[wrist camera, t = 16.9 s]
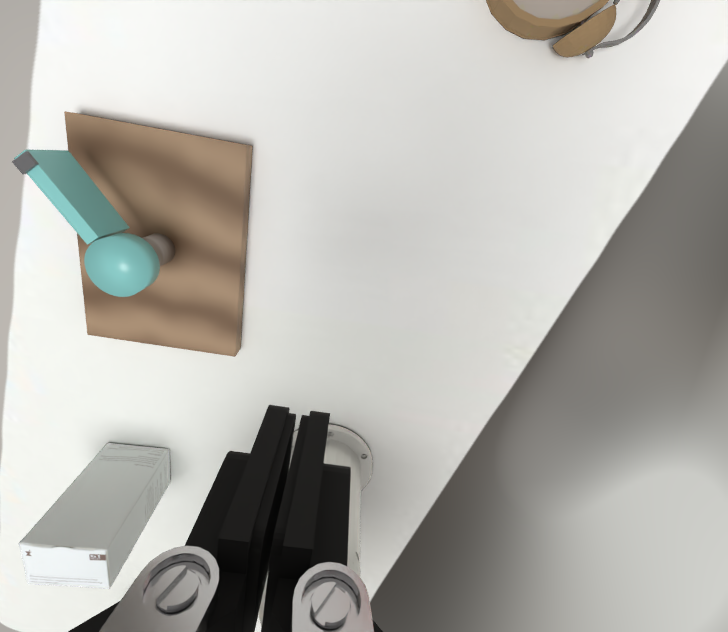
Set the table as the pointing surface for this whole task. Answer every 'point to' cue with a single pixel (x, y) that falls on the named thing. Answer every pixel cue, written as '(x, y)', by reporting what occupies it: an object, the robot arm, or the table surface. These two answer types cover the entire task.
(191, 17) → the table surface
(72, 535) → the skincare box
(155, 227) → the post block
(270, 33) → the table surface
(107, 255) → the teal lever handle
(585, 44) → the alarm clock
